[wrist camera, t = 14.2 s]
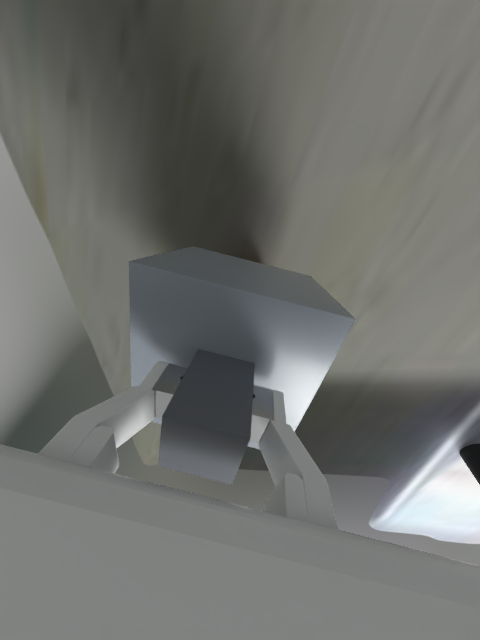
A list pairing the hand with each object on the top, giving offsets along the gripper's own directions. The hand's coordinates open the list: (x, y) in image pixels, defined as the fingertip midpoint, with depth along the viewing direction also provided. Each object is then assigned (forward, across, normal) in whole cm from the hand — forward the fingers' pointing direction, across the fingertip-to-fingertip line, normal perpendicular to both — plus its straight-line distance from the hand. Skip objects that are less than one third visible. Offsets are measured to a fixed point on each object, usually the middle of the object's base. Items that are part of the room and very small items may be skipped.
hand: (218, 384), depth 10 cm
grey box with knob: (+10, 0, +1) cm, 10 cm away
